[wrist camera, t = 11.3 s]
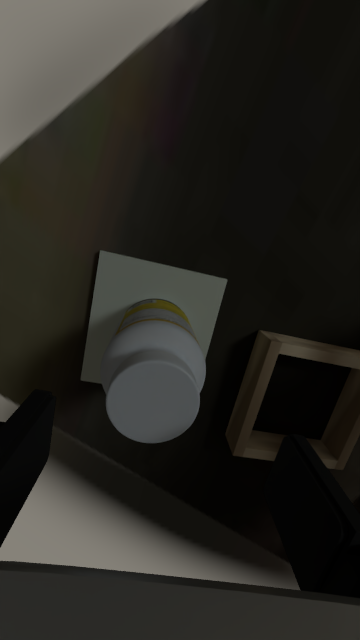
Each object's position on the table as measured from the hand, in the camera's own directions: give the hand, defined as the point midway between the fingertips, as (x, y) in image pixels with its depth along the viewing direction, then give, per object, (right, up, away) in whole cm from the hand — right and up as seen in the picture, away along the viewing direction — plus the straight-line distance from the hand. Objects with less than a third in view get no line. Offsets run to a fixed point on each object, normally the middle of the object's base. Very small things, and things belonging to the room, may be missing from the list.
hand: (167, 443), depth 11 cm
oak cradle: (+12, -3, +18) cm, 22 cm away
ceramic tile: (-2, +4, +14) cm, 15 cm away
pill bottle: (-2, +4, +14) cm, 15 cm away
